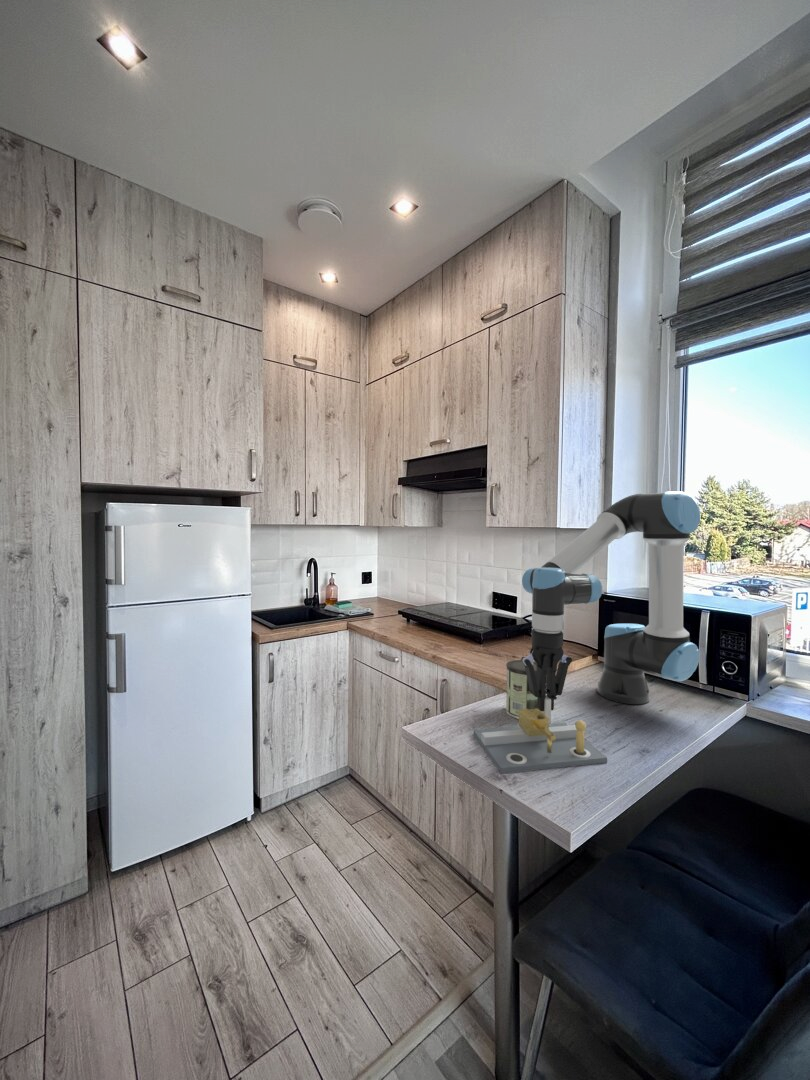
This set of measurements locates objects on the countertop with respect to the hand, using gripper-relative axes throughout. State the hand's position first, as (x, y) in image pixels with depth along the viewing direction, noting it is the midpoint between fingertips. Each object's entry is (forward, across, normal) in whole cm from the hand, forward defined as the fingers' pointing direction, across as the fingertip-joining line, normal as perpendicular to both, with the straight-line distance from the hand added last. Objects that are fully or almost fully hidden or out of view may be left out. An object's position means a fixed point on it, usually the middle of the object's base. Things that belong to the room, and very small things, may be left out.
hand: (545, 722), depth 108 cm
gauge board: (+5, +3, +2) cm, 6 cm away
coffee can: (+5, -3, -17) cm, 18 cm away
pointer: (+3, +3, +3) cm, 5 cm away
